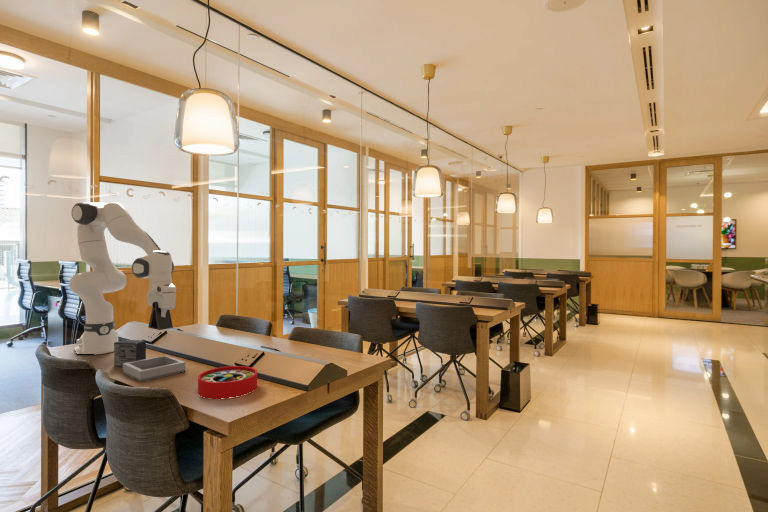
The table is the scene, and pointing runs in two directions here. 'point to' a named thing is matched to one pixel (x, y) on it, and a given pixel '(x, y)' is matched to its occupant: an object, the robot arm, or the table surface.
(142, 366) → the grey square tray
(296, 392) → the table surface
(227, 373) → the toy clock
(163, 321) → the door stopper
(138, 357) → the small box
